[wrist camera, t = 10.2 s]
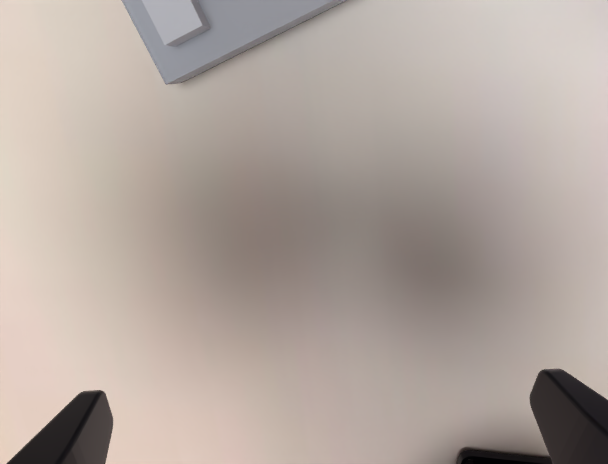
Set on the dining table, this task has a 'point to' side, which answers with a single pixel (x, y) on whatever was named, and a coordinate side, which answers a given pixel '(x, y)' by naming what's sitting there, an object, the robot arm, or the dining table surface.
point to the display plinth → (212, 29)
